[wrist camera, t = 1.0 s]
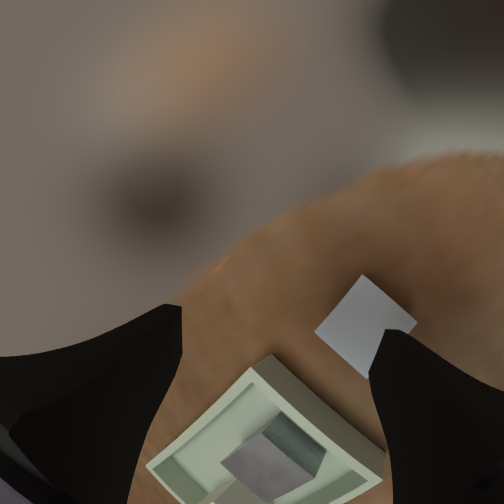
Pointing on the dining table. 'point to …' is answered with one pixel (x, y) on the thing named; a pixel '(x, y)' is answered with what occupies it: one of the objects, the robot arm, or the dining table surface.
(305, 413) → the crate
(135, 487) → the dining table surface
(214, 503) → the beige cube
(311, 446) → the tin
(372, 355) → the grey cube
